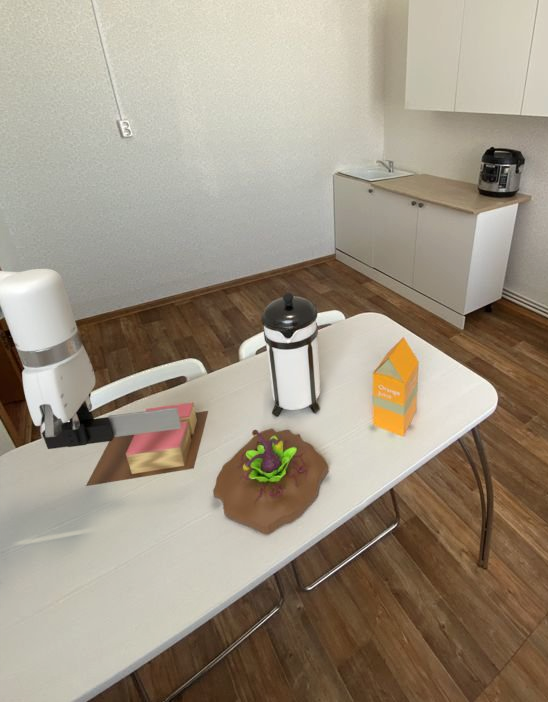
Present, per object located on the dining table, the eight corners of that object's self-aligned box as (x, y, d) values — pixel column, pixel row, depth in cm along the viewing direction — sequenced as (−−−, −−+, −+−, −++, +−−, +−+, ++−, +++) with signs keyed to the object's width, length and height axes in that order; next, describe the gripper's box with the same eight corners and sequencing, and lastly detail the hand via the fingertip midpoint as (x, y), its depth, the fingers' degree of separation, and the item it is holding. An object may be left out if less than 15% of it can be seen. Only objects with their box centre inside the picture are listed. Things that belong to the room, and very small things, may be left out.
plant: (273, 556, 63) (266, 508, 59) (199, 496, 73) (189, 452, 69) (342, 465, 79) (340, 423, 75) (273, 426, 89) (269, 387, 85)
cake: (86, 489, 75) (77, 465, 72) (119, 426, 89) (113, 404, 87) (194, 472, 78) (189, 448, 76) (209, 413, 93) (204, 392, 91)
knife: (47, 449, 64) (39, 428, 63) (54, 439, 66) (47, 419, 64) (179, 432, 67) (175, 412, 66) (182, 423, 69) (178, 403, 68)
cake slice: (145, 441, 84) (140, 422, 82) (151, 427, 88) (146, 408, 86) (193, 434, 86) (189, 415, 84) (197, 421, 89) (193, 402, 88)
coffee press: (341, 395, 98) (337, 290, 87) (291, 432, 87) (279, 317, 77) (299, 366, 109) (291, 270, 99) (250, 396, 98) (235, 291, 88)
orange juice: (416, 410, 93) (420, 340, 86) (403, 437, 85) (406, 362, 78) (387, 400, 96) (388, 332, 89) (372, 424, 89) (371, 352, 82)
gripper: (54, 322, 66) (82, 407, 72) (-15, 384, 51) (28, 483, 58) (101, 318, 67) (125, 402, 74) (47, 378, 52) (82, 476, 59)
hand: (82, 437), depth 66 cm, fingers closed on knife, 2 cm apart
